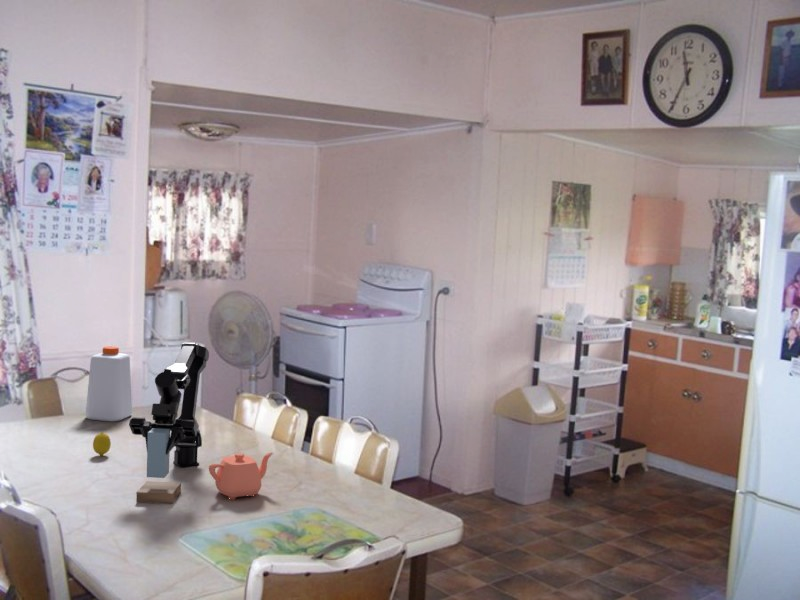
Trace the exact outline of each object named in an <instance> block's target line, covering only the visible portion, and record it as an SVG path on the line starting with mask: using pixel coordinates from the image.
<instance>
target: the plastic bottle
mask: <svg viewBox="0 0 800 600" xmlns="http://www.w3.org/2000/svg"><path fill="white" fill-rule="evenodd" d="M119 350H120V348H119V347H117V346H112V345H111V346H103V348H102V352H100V353H96V354H94V355H92V356H91V357H90V364H89V365H90V366H89V373H88V385H87V393H86V395H87V397H86V406H85V418H86V419H88V420H91V421H101V422H118V421H122V420H124V419H126V418H128V417H129V418H130V416H132V414H133V401H132V400H133V398H132V382H131V381H132V378H131V377H132V376H131V358H130V355H129V354H128V353H123V352H122V353H120V351H119Z"/></svg>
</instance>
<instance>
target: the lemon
mask: <svg viewBox="0 0 800 600" xmlns="http://www.w3.org/2000/svg"><path fill="white" fill-rule="evenodd" d="M111 444H112V443H111V438H110V436H109V435H108V434H106V433H104V432H100V433H98V434H96V435H95V437H94V438H93V442H92V447H93V450H94V452H95V453H96V454H98V455H99V456H100V457H102V456H104V455H105V454H107V453H108V452H109V451H110V449H111Z"/></svg>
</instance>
